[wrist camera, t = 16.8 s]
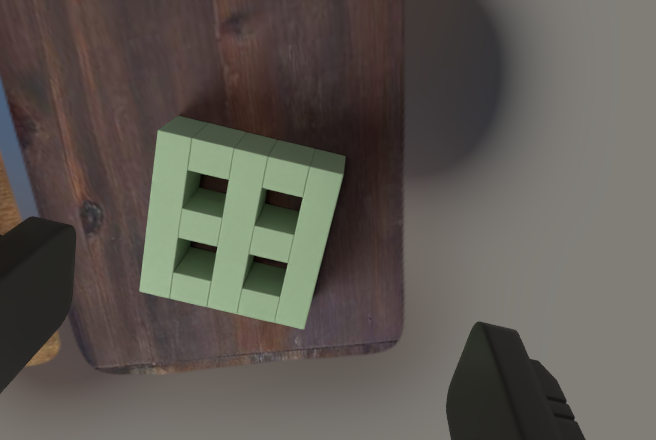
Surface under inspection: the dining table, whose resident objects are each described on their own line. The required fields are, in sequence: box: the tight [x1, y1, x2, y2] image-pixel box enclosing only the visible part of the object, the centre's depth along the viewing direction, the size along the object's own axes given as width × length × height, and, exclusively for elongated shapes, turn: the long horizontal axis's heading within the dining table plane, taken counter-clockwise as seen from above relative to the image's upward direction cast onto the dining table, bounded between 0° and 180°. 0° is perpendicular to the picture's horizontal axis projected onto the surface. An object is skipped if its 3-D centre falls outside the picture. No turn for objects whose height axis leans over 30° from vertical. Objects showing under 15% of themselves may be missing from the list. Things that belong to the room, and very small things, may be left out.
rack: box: [140, 116, 346, 329], centre depth 48 cm, size 14×14×5 cm
